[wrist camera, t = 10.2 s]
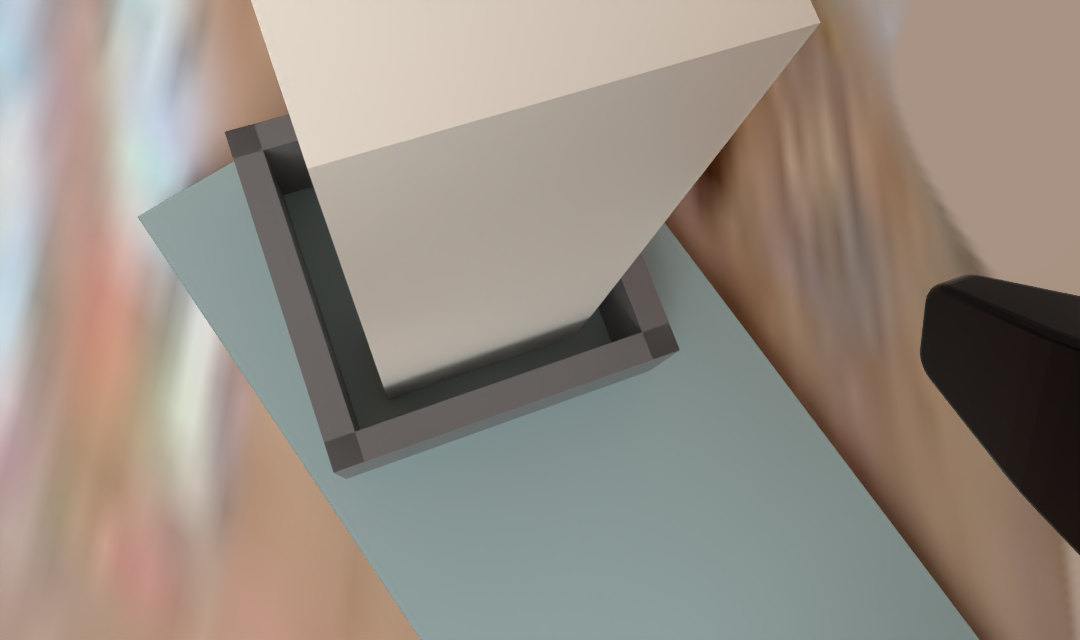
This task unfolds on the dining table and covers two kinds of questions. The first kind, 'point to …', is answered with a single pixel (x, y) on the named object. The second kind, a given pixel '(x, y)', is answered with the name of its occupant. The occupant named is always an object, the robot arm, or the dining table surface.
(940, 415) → the dining table surface
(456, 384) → the socket plate
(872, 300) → the dining table surface
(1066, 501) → the robot arm
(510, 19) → the block
